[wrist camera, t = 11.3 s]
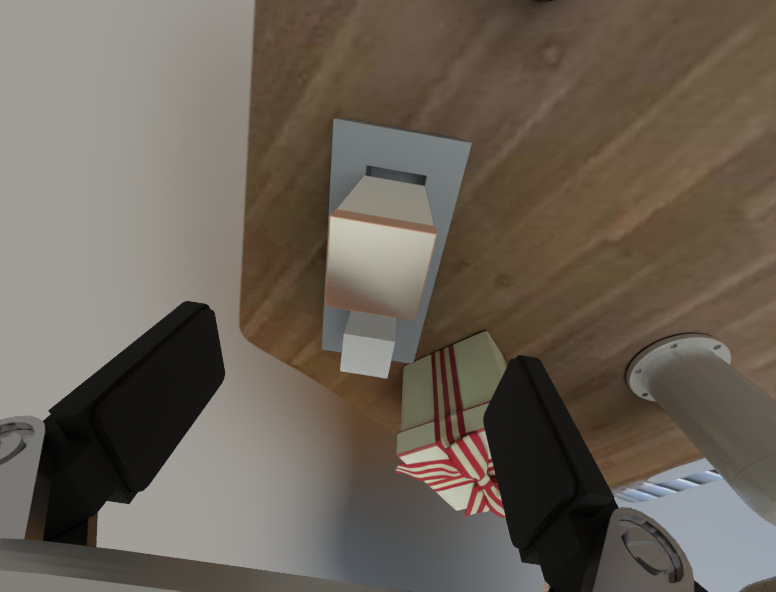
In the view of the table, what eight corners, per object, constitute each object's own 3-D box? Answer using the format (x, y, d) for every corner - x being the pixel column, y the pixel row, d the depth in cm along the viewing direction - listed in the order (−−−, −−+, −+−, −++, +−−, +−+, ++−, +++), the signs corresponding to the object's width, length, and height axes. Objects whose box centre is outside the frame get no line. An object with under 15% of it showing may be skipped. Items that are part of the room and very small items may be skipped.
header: (412, 335, 44) (413, 405, 33) (331, 322, 44) (306, 388, 33) (461, 139, 31) (489, 149, 20) (346, 118, 31) (311, 118, 20)
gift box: (381, 376, 49) (369, 488, 34) (481, 321, 42) (519, 430, 27) (440, 431, 55) (452, 545, 40) (536, 390, 48) (592, 509, 34)
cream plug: (413, 244, 27) (415, 321, 17) (357, 234, 27) (324, 306, 17) (425, 185, 24) (437, 233, 14) (363, 174, 24) (329, 215, 14)
